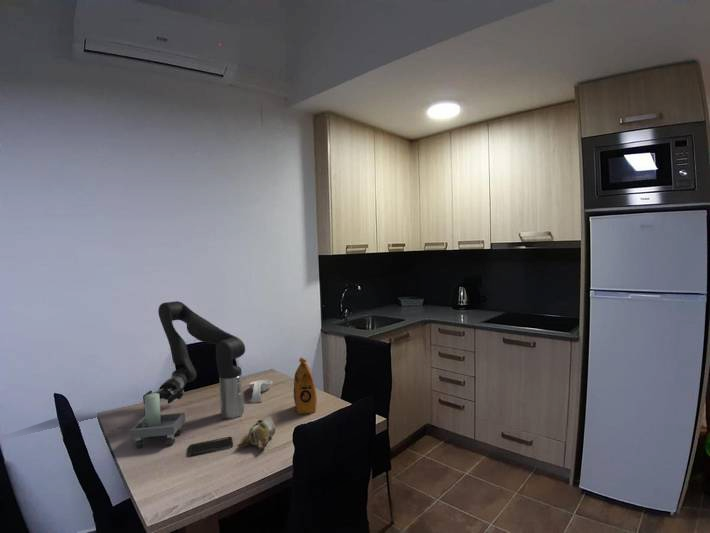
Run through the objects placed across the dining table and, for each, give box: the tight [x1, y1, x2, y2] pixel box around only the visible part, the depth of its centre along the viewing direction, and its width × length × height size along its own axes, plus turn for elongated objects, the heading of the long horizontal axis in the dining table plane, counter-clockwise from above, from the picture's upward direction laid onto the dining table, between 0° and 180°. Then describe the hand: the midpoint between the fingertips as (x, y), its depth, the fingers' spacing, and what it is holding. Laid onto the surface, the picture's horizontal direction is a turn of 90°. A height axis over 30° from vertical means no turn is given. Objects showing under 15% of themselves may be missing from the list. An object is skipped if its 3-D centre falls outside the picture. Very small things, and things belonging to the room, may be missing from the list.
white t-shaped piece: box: [248, 379, 273, 404], centre depth 187 cm, size 24×12×7 cm, turn 8°
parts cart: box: [129, 412, 186, 449], centre depth 141 cm, size 15×12×8 cm
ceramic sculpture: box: [236, 415, 276, 451], centre depth 137 cm, size 11×9×15 cm
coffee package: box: [293, 357, 318, 415], centre depth 166 cm, size 10×12×22 cm
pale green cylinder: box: [144, 392, 161, 428], centre depth 141 cm, size 5×5×12 cm
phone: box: [187, 436, 234, 457], centre depth 135 cm, size 8×1×15 cm
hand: (157, 401), depth 145 cm, fingers open, 8 cm apart
